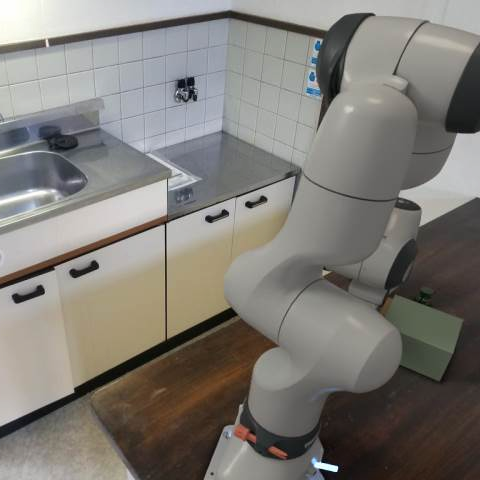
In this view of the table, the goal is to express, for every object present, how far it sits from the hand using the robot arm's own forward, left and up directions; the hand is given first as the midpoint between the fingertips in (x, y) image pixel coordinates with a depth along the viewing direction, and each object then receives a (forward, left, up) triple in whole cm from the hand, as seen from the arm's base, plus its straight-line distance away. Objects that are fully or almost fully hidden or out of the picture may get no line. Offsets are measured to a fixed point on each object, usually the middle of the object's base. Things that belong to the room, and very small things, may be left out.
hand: (362, 321), depth 109 cm
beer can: (+21, -9, -5) cm, 23 cm away
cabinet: (+4, -10, -5) cm, 12 cm away
